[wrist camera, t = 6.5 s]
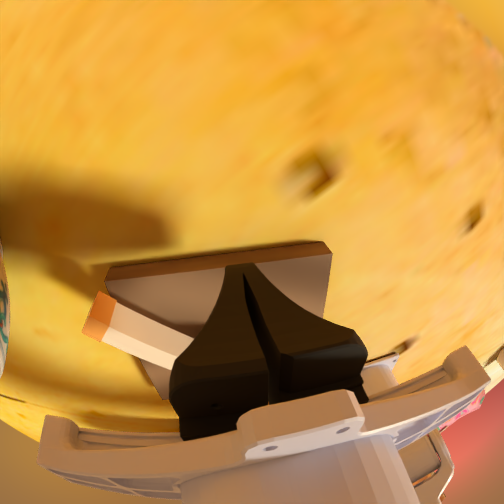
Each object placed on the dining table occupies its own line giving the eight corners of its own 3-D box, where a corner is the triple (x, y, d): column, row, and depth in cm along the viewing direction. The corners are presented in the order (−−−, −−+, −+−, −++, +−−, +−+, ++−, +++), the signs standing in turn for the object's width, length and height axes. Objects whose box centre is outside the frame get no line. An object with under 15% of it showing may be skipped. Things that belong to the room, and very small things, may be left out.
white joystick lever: (277, 341, 20) (287, 374, 17) (235, 375, 21) (241, 407, 19) (113, 260, 14) (99, 294, 12) (87, 313, 16) (75, 347, 13)
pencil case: (402, 421, 49) (416, 450, 41) (420, 402, 44) (437, 434, 36) (458, 392, 52) (472, 415, 44) (475, 372, 47) (492, 396, 40)
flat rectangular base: (305, 367, 25) (310, 379, 24) (162, 386, 24) (162, 399, 22) (323, 241, 18) (332, 253, 17) (110, 267, 16) (104, 281, 15)
